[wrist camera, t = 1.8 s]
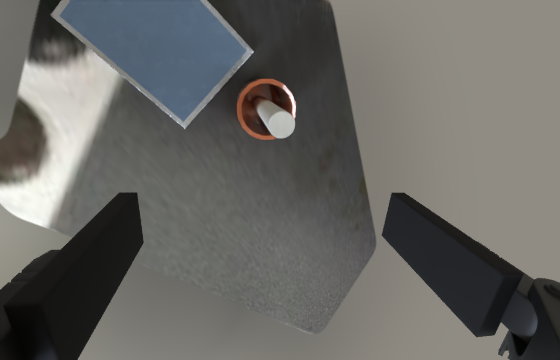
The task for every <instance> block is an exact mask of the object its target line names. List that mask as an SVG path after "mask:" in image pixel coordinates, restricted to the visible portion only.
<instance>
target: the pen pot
mask: <svg viewBox="0 0 560 360" xmlns="http://www.w3.org/2000/svg"><path fill="white" fill-rule="evenodd" d="M260 96H262V97H264V98H266V99H268V100H269V101H271V102H272V103H274V104H276V105H277V106H279V107H280V108H282V109H283V110H285V111H287V112H288V113H290V114H291V115H292V116H293V118H294V119H295V117H296V103H295V100H294V97H293V94H292V92H291V91H290V90H289V89H288V88H287V87H286V86H285V85H284V84H283V83H281V82H279V81H276V80H274V79H254V80H251V81H249V82H247V83H246V84H245V85H244V86H243V87H242V88H241V89H240V91H239V94H238V96H237V116H238V119H239V121H240V123H241V125H242V127H243V129H244V130H246V131H247V132H248V133H249V134H250V135H251V136H253V137H256V138H258V139H261V140H271V139H275V138H277V137H275V136H273V135H272V134H271V133H270V131H269V130H268V128H267V127H266V125H265V124H264V122H263V120H262V119H261V117H260V116H259V114H258V113H257V111H256V110H255V108H254V106H253V102H254V100H255V99H256V98H257V97H260Z"/></svg>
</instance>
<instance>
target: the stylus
mask: <svg viewBox="0 0 560 360" xmlns="http://www.w3.org/2000/svg"><path fill="white" fill-rule="evenodd" d="M253 106H254V108H255V110H256V111H257V113H258V114H259V116H260V117H261V119H262V120H263V122H264V124H265V125H266V127H267V128H268V130H269V131H270V133H271V134H272V135H273V136H275V137H277V138H286V137H288V136H289V135H291V134H292V132H293V131H294V128H295V121H294V118H293V116H292V115H291V114H290V113H288V112H287V111H285V110H283V109H282V108H280V107H279V106H277V105H276V104H274V103H272V102H271V101H269V100H268V99H266V98H264V97H262V96H260V97H257V98H256V99H255V100H254V102H253Z"/></svg>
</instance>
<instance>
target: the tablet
mask: <svg viewBox="0 0 560 360" xmlns="http://www.w3.org/2000/svg"><path fill="white" fill-rule="evenodd" d="M51 16H52V17H53V18H54V19H56V20H57V21H58V22H59V23H60V24H61V25H63V26H64V27H65V28H66V29H67V30H69V31H70V32H71V33H72V34H73V35H74V36H76V37H77V38H78V39H79V40H80V41H82V42H83V43H84V44H85V45H86V46H87V47H89V48H90V49H91V50H92V51H93V52H95V53H96V54H97V55H98V56H99V57H100V58H102V59H103V60H104V61H105V62H106V63H108V64H109V65H110V66H111V67H112V68H114V69H115V70H116V71H117V72H118V73H119V74H121V75H122V76H123V77H124V78H125V79H127V80H128V81H129V82H130V83H131V84H132V85H134V86H135V87H136V88H137V89H138V90H140V91H141V92H142V93H143V94H144V95H145V96H147V97H148V98H149V99H150V100H151V101H153V102H154V103H155V104H156V105H157V106H158V107H160V108H161V109H162V110H163V111H164V112H166V113H167V114H168V115H169V116H170V117H172V118H173V119H174V120H175V121H176V122H177V123H179V124H180V125H181V126H182V127H183V128H186V127H187V126H188V125H189V124H190V123H191V122H192V121H193V120H194V119H195V117H196V116H197V115H198V114H199V113H200V112H201V111H202V110H203V109H204V107H205V106H206V105H207V104H208V103H209V102H210V101H211V100H212V98H213V97H214V96H215V95H216V94H217V93H218V92H219V91H220V90H221V88H222V87H223V86H224V85H225V84H226V83H227V82H228V81H229V80H230V78H231V77H232V76H233V75H234V74H235V73H236V72H237V71H238V70H239V68H240V67H241V66H242V65H243V64H244V63H245V62H246V61H247V59H248V58H249V57H250V56H251V55H252V54H253V53H254V51H253V50H252V49H251V48H250V46H249V45H248V44H247V43H246V42H245V41H244V40H243V39H242V38H241V37H240V35H239V34H238V33H237V32H236V31H235V30H234V29H233V28H232V27H231V26H230V24H229V23H228V22H227V21H226V20H225V19H224V18H223V17H222V16H221V15H220V14H219V12H218V11H217V10H216V9H215V8H214V7H213V6H212V5H211V4H210V3H209V1H208V0H61V1H60V2H59V4H58V5H57V7H56V8H55V9H54V11H53V12H52V13H51Z"/></svg>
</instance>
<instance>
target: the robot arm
mask: <svg viewBox="0 0 560 360" xmlns="http://www.w3.org/2000/svg"><path fill="white" fill-rule="evenodd" d="M382 236H383V237H384V238H385V239H386V241H387V242H388V243H389V244H390V245H391V246H392V247H393V248H394V249H395V250H396V251H397V253H399V255H400V256H401V257H402V258H403V259H404V260H405V261H406V262H407V263H408V264H409V265H410V266H411V268H412V269H413V270H414V271H415V272H416V273H417V274H418V275H419V276H420V277H421V278H422V279H423V280H424V282H425V283H426V284H427V285H428V286H429V287H430V288H431V289H432V290H433V291H434V292H435V293H436V294H437V295H438V297H440V299H441V300H442V301H443V302H444V303H445V304H446V305H447V306H448V307H449V308H450V309H451V311H452V312H453V313H454V314H455V315H456V316H457V317H458V318H459V319H460V320H461V321H462V322H463V323H464V324H465V326H467V328H468V329H469V330H470V331H471V332H472V333H473V334H474V335H475V336H476V337H482V336H492V335H495V333H496V331H497V329H498V327H499V324H500V323H501V322H502V323H503V324H504V325H505V326H506V327H507V328H508V329H509V331H508V333H507V335H506V337H505V339H504V341H503V343H502V345H501V347H500V349H499V352H498V355H501V356H502V355H503V353H504V351H507V350H508V351H509V356H508V359H510V360H560V283H559V282H556V281H554V280H549V279H545V278H537V279H535V280H534V279H532V278H531V277H529V276H528V275H526V274H525V273H523V272H522V271H521V270H519V269H517V268H516V267H515V266H513V265H511V264H510V263H509V262H507V261H505V260H504V259H502V258H500V257H499V256H498V255H497V254H495V253H494V252H492V251H490V250H489V249H488V248H486V247H485V246H483V245H482V244H480V243H479V242H477V241H475V240H473V239H472V238H470V237H469V236H467V235H466V234H465V233H463V232H462V231H460V230H459V229H457V228H456V227H454V226H453V225H451V224H450V223H448V222H447V221H445V220H444V219H442V218H441V217H439V216H438V215H436V214H435V213H433V212H432V211H431V210H429V209H428V208H426V207H425V206H423V205H422V204H420V203H419V202H417V201H416V200H414V199H413V198H411V197H410V196H408V195H407V194H405V193H392V194H391V198H390V203H389V207H388V212H387V215H386V220H385V224H384V228H383V233H382ZM143 243H144V241H143V234H142V226H141V219H140V211H139V204H138V196H137V193H118V194H117V195H116V196H115V197H114V198H113V199H112V200H111V201H110V202H109V203H108V204H107V205H106V206H105V207H104V208H103V209H102V210H101V211H100V212H99V213H98V214H97V215H96V216H95V217H94V218H93V219H92V220H91V221H90V222H89V223H88V224H87V225H86V226H85V227H83V228H82V229H81V230H80V231H79V232H78V233H77V234H76V235H75V236H74V237H73V238H72V239H71V240H70V241H69V242H68V243H67V244H66V245H65V246H64V247H63V248H62V249H61V250H51V251H49V252H47V253H45V254H43V255H42V256H40V257H38V258H36V259H34V260H33V261H32V262H31V263H30V264H29V265H27V266H26V267H25V268H24V269H23V270H22V272H21V273H18V274H17V275H16V276H15V277H14V278H13V279H12V280H11V282H10V283H7V284H6V285H5V286H4V287H3V288H2V289H1V290H0V360H78V358H79V356H80V354H81V352H82V351H83V349H84V347H85V345H86V344H87V342H88V340H89V338H90V337H91V335H92V333H93V331H94V329H95V328H96V326H97V324H98V322H99V321H100V319H101V317H102V315H103V314H104V312H105V310H106V308H107V306H108V305H109V303H110V301H111V299H112V297H113V296H114V294H115V292H116V291H117V289H118V287H119V285H120V283H121V282H122V280H123V278H124V276H125V274H126V273H127V271H128V269H129V268H130V266H131V264H132V262H133V260H134V259H135V257H136V255H137V253H138V252H139V250H140V248H141V246H142V245H143Z"/></svg>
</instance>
